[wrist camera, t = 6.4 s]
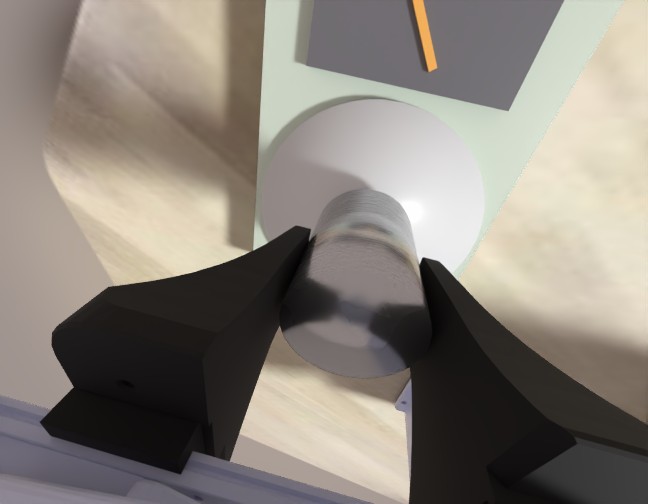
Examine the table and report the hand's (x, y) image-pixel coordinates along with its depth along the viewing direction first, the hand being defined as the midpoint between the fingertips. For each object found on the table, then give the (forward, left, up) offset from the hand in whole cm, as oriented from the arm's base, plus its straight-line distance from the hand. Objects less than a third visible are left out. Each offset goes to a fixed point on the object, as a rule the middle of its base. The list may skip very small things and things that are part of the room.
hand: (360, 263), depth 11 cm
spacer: (0, 0, -2) cm, 2 cm away
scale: (+2, 0, -7) cm, 7 cm away
